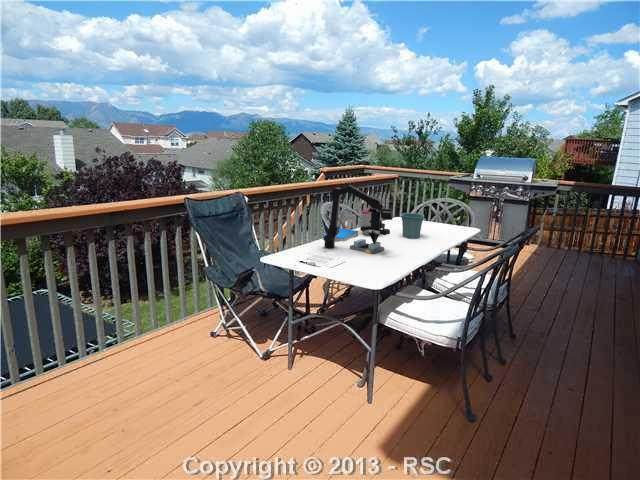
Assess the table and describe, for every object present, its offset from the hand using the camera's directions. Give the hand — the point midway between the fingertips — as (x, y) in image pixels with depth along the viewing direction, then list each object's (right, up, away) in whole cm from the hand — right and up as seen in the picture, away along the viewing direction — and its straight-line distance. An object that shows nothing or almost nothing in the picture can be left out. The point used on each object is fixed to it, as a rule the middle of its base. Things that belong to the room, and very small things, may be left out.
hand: (374, 243), depth 254 cm
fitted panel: (-8, -3, +8) cm, 12 cm away
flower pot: (+33, +4, +43) cm, 54 cm away
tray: (-35, -11, -15) cm, 39 cm away
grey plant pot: (+4, +6, +50) cm, 50 cm away
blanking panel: (0, -5, +1) cm, 5 cm away
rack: (-4, -5, +5) cm, 8 cm away
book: (-19, +3, +39) cm, 43 cm away
